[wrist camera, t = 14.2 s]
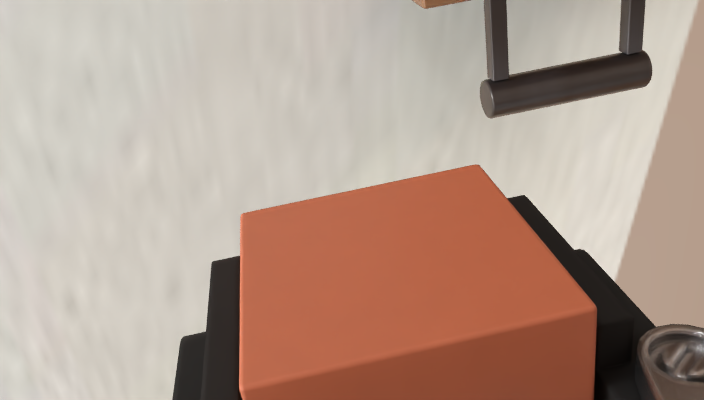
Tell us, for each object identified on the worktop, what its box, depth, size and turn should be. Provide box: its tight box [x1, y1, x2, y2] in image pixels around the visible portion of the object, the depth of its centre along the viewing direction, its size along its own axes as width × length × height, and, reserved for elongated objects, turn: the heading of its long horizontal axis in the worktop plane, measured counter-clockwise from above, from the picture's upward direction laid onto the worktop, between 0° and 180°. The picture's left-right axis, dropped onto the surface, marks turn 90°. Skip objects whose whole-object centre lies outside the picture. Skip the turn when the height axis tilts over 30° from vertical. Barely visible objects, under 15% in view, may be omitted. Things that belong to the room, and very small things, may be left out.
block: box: [239, 165, 597, 400], centre depth 11 cm, size 4×4×4 cm
